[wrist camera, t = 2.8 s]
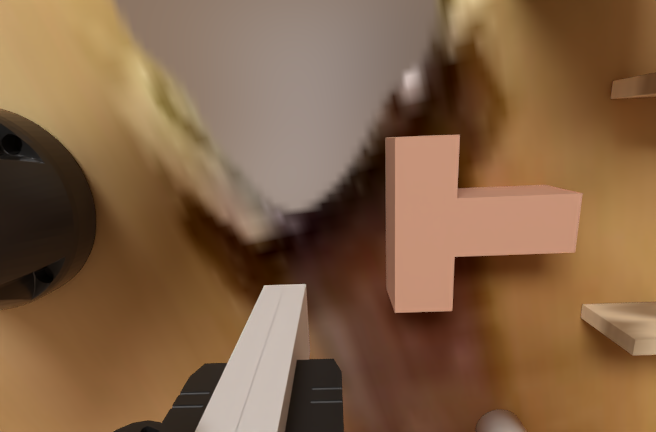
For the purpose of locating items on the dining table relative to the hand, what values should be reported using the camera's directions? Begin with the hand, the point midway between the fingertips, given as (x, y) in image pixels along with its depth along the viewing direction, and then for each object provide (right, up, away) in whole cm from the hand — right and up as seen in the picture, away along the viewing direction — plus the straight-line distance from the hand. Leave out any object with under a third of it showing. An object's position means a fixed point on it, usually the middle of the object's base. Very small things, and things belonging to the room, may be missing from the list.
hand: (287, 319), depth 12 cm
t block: (+12, +4, +14) cm, 19 cm away
